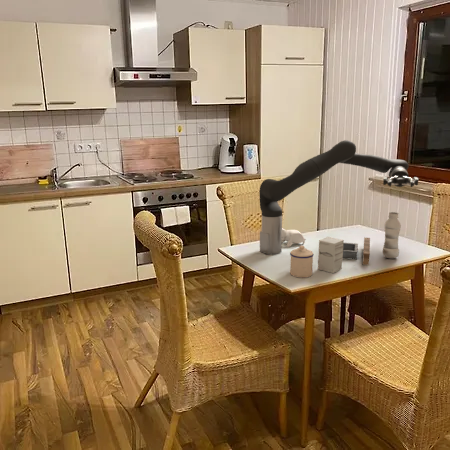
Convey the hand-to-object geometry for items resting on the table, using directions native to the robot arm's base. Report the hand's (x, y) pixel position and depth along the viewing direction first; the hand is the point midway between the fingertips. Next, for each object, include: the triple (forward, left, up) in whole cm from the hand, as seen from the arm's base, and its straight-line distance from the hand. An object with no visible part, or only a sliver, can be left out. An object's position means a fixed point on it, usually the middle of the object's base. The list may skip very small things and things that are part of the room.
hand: (401, 184), depth 192 cm
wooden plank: (-11, +6, -32) cm, 34 cm away
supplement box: (-37, +3, -32) cm, 49 cm away
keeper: (-18, +14, -32) cm, 39 cm away
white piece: (-27, +39, -32) cm, 58 cm away
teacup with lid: (-50, +7, -32) cm, 59 cm away
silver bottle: (-5, -1, -32) cm, 32 cm away
